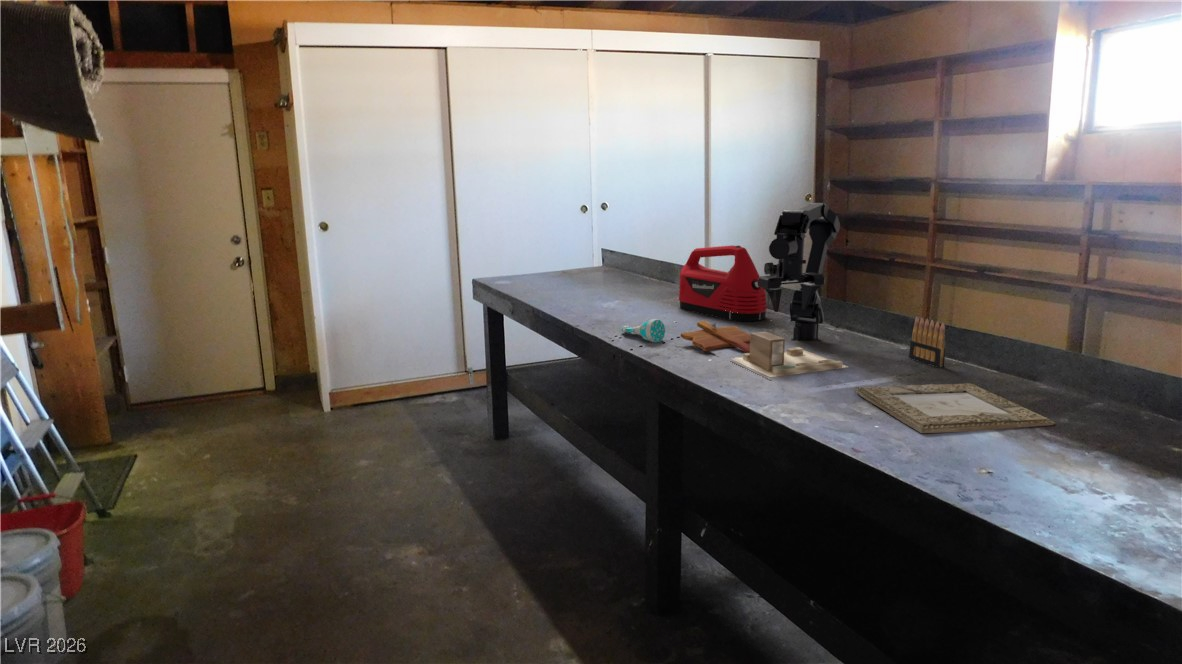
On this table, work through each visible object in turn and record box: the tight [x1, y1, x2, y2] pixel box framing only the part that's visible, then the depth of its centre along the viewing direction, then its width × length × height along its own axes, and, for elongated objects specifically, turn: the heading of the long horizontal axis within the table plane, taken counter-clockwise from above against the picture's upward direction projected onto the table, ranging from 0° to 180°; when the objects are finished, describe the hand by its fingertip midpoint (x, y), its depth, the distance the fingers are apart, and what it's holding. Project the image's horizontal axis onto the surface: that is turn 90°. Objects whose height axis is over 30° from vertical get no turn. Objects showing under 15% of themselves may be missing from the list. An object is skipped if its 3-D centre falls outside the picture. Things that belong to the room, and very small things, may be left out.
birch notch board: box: [729, 346, 849, 382], centre depth 194 cm, size 24×19×3 cm
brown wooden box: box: [749, 331, 786, 371], centre depth 191 cm, size 4×9×8 cm, turn 20°
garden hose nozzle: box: [620, 318, 666, 343], centre depth 232 cm, size 7×18×20 cm
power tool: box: [678, 245, 768, 322], centre depth 264 cm, size 16×40×25 cm, turn 34°
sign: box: [679, 320, 750, 353], centre depth 213 cm, size 20×6×30 cm
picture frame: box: [854, 382, 1056, 434], centre depth 161 cm, size 27×30×3 cm
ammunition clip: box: [908, 316, 946, 368], centre depth 195 cm, size 11×2×12 cm, turn 21°
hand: (789, 310), depth 207 cm, fingers open, 9 cm apart
